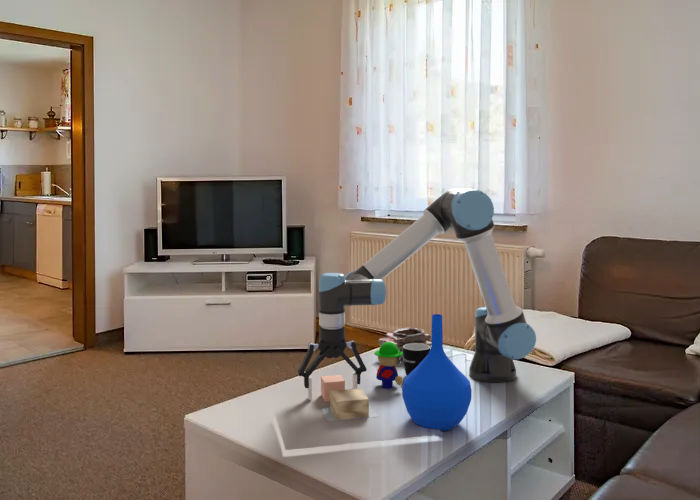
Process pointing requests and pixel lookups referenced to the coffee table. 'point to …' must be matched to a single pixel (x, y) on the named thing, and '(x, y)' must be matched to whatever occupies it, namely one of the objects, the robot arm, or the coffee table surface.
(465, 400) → the vase
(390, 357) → the toy
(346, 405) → the oak brick
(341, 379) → the salmon pink block
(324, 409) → the board
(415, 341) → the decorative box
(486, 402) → the coffee table surface
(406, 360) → the mug
